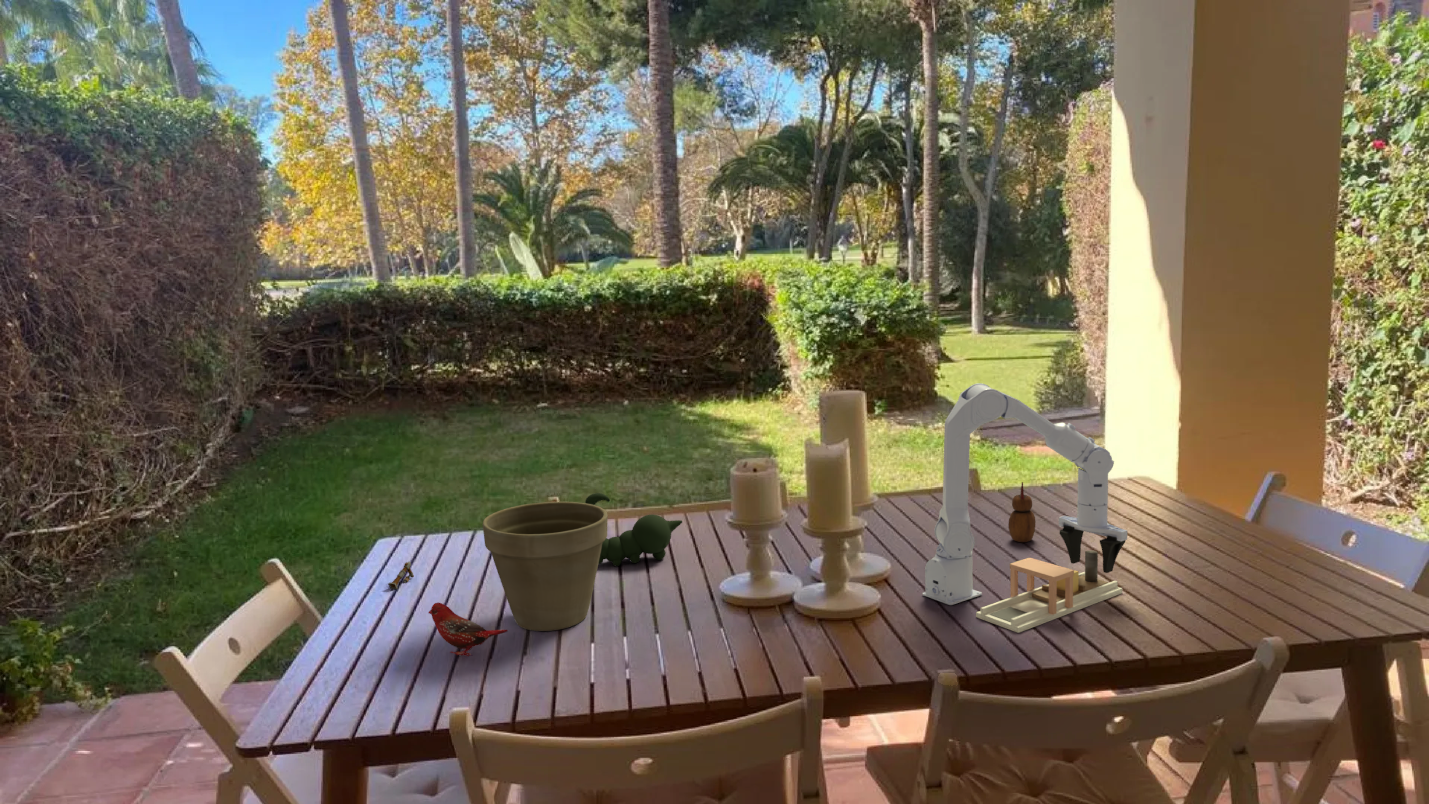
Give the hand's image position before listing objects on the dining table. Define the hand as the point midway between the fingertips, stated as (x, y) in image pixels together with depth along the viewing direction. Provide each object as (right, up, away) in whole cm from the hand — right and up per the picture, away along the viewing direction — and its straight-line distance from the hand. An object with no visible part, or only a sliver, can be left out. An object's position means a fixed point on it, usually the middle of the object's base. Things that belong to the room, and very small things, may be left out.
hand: (1091, 567), depth 190 cm
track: (-11, -6, -6) cm, 14 cm away
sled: (-6, -4, -3) cm, 8 cm away
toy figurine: (-97, -5, +34) cm, 103 cm away
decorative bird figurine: (-123, -14, -18) cm, 125 cm away
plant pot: (-110, -11, 0) cm, 111 cm away
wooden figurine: (-2, 0, +36) cm, 36 cm away
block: (-7, -4, -4) cm, 10 cm away
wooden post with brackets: (-150, -9, +26) cm, 153 cm away
